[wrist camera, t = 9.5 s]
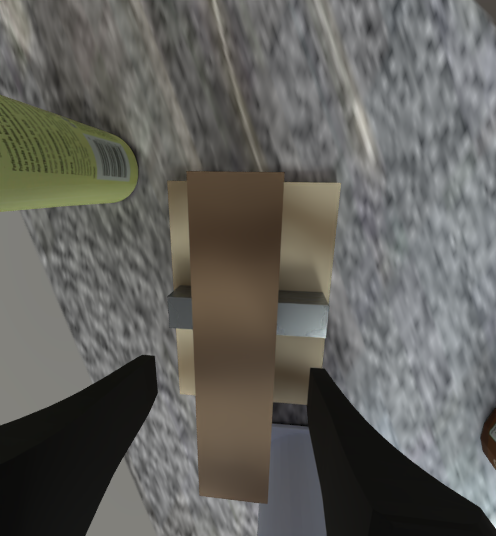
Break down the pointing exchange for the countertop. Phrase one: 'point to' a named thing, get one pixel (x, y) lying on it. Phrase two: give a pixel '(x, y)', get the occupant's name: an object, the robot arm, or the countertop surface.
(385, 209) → the countertop surface
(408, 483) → the robot arm
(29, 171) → the tube
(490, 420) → the food container
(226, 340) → the walnut bar
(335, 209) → the balance stand
